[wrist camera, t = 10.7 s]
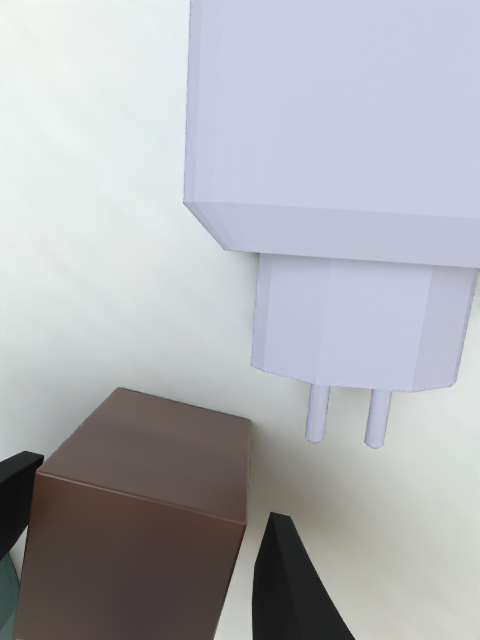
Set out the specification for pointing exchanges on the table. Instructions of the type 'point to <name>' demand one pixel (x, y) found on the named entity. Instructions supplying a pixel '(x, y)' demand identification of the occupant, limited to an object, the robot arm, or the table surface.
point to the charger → (343, 183)
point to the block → (136, 524)
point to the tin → (8, 598)
